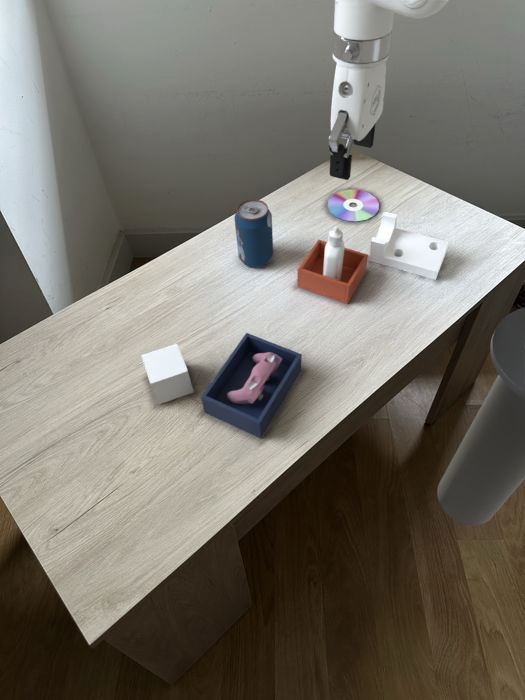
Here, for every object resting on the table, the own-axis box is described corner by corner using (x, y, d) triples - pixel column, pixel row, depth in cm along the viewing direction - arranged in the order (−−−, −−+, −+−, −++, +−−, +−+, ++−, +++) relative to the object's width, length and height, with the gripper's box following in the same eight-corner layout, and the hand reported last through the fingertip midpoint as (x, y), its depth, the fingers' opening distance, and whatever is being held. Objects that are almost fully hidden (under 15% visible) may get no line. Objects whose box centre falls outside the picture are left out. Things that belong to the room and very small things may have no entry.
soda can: (279, 252, 105) (278, 202, 95) (263, 274, 101) (260, 225, 91) (249, 243, 107) (244, 193, 97) (232, 264, 103) (226, 214, 94)
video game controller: (245, 416, 83) (261, 402, 77) (222, 399, 82) (236, 384, 76) (274, 371, 88) (291, 355, 82) (253, 355, 87) (268, 338, 82)
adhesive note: (183, 365, 88) (177, 343, 84) (193, 392, 85) (188, 370, 80) (148, 376, 87) (140, 355, 82) (158, 404, 84) (150, 383, 79)
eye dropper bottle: (350, 275, 99) (356, 224, 90) (331, 291, 97) (336, 240, 87) (332, 264, 101) (336, 214, 91) (313, 280, 99) (316, 229, 89)
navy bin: (301, 370, 86) (301, 354, 83) (261, 438, 79) (259, 423, 75) (248, 349, 90) (246, 332, 86) (204, 412, 82) (200, 397, 79)
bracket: (369, 263, 103) (371, 240, 96) (381, 235, 105) (384, 211, 98) (435, 282, 99) (441, 259, 92) (446, 252, 101) (453, 228, 94)
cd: (385, 196, 114) (385, 195, 114) (370, 226, 108) (370, 226, 108) (337, 185, 117) (337, 185, 117) (319, 214, 111) (320, 214, 111)
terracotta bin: (365, 272, 100) (368, 254, 96) (347, 304, 95) (349, 286, 92) (317, 257, 103) (318, 239, 100) (297, 287, 98) (297, 269, 95)
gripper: (364, 76, 63) (353, 196, 77) (409, 23, 72) (392, 138, 86) (308, 67, 66) (307, 184, 79) (359, 17, 75) (350, 130, 88)
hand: (351, 160), depth 82 cm, fingers open, 9 cm apart
